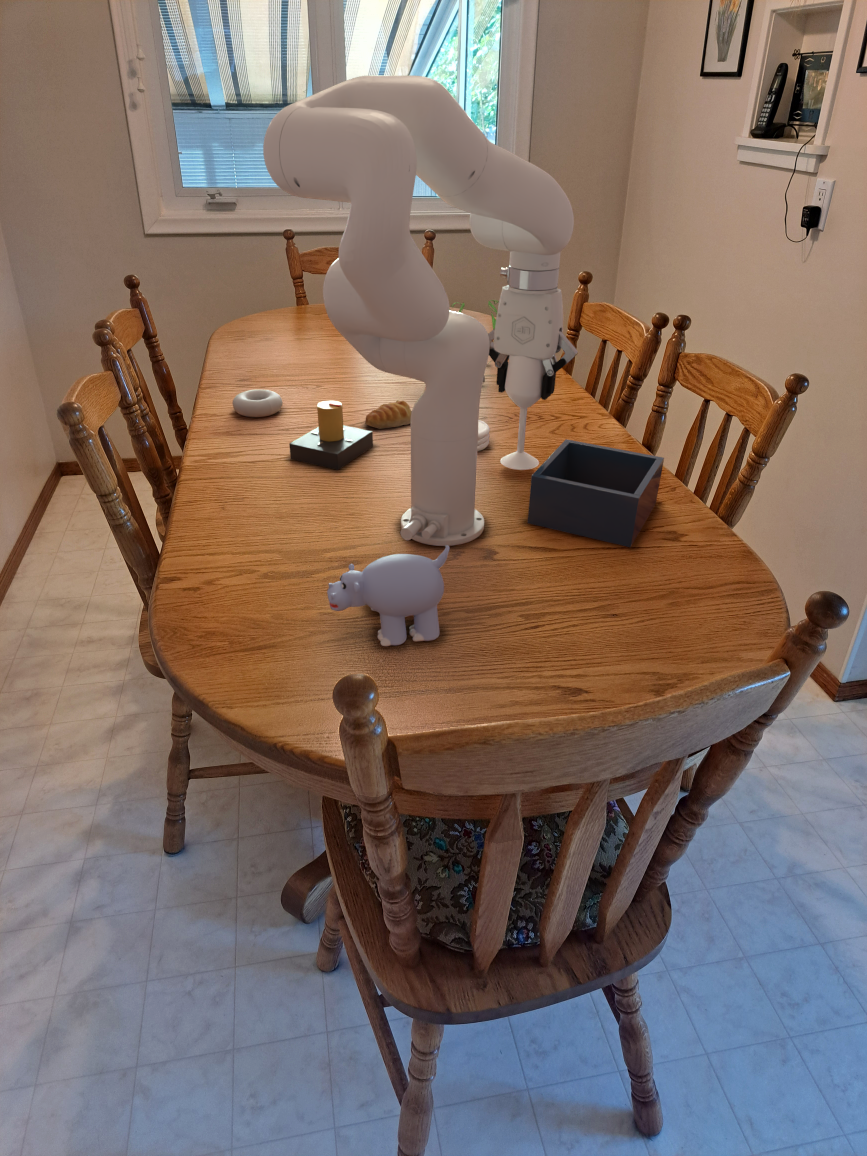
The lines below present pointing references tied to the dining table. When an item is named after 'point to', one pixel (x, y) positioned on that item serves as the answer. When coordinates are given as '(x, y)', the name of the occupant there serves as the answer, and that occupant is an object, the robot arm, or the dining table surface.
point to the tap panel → (331, 448)
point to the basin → (595, 491)
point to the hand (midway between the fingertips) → (524, 392)
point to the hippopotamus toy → (395, 594)
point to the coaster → (483, 435)
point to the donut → (257, 403)
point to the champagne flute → (523, 403)
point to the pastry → (390, 415)
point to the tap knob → (330, 420)
